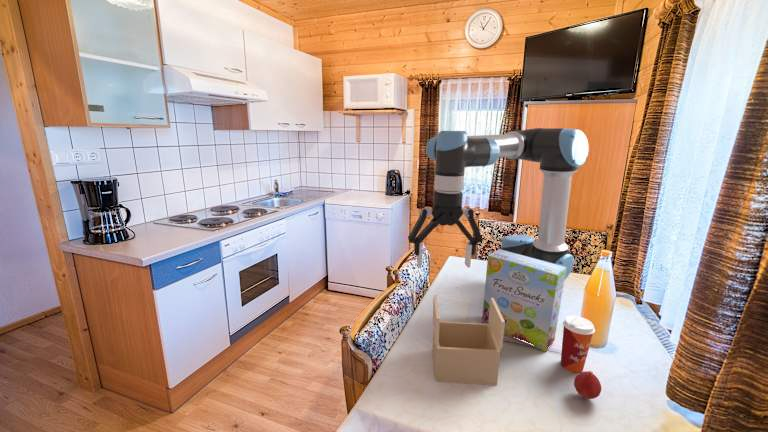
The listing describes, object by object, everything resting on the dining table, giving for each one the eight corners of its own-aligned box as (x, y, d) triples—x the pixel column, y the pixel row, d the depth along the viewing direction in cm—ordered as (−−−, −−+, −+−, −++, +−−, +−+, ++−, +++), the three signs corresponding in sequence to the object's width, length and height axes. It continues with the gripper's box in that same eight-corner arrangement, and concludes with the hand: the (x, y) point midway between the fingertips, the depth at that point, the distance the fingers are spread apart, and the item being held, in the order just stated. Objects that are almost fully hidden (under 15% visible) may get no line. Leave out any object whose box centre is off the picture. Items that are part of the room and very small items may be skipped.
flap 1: (436, 295, 99) (433, 295, 99) (439, 318, 87) (436, 318, 87) (435, 318, 101) (432, 318, 101) (438, 345, 89) (435, 344, 89)
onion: (567, 390, 89) (571, 363, 87) (588, 388, 90) (593, 362, 88) (581, 407, 84) (586, 379, 82) (603, 406, 84) (609, 378, 82)
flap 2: (488, 321, 100) (491, 321, 100) (498, 348, 88) (502, 348, 88) (490, 297, 98) (493, 297, 98) (501, 321, 86) (505, 321, 86)
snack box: (479, 325, 117) (486, 254, 111) (491, 315, 124) (498, 247, 117) (546, 354, 103) (558, 274, 97) (556, 341, 109) (568, 265, 103)
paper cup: (575, 379, 93) (583, 333, 89) (550, 362, 100) (557, 318, 96) (593, 370, 97) (602, 325, 93) (568, 354, 103) (575, 312, 100)
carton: (486, 353, 103) (489, 323, 101) (496, 385, 91) (500, 352, 88) (432, 350, 104) (433, 320, 102) (434, 381, 92) (436, 348, 89)
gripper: (489, 188, 96) (482, 260, 102) (399, 188, 95) (397, 260, 100) (499, 193, 89) (492, 270, 94) (403, 193, 87) (400, 271, 93)
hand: (443, 265), depth 97 cm, fingers open, 13 cm apart
